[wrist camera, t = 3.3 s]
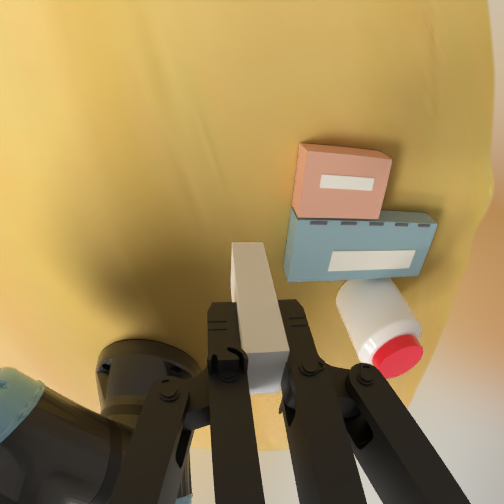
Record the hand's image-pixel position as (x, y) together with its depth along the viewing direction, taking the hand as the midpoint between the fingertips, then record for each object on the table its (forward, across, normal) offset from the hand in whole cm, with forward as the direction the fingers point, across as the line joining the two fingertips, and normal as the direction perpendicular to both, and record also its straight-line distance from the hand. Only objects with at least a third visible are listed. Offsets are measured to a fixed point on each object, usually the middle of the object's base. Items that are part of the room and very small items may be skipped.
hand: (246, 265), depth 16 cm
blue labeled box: (+14, +14, -7) cm, 21 cm away
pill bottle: (+14, +17, -15) cm, 27 cm away
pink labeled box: (+14, +10, 0) cm, 17 cm away
